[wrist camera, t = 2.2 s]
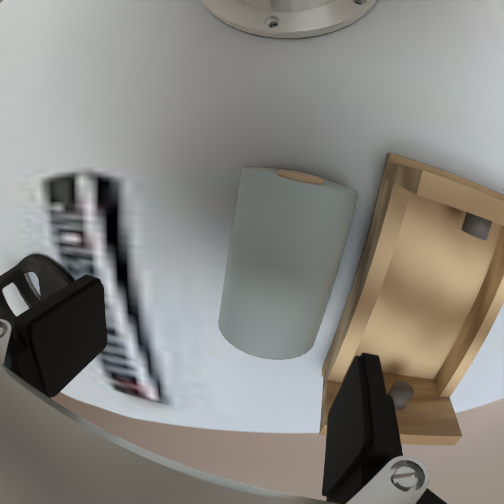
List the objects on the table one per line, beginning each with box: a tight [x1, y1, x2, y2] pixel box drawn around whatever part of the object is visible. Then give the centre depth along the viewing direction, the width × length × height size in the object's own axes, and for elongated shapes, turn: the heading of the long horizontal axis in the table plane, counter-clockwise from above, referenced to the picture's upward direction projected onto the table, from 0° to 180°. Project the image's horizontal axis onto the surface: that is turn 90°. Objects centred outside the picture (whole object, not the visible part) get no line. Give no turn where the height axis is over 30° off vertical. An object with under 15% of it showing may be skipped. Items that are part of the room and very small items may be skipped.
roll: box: [219, 167, 358, 360], centre depth 17 cm, size 10×6×6 cm, turn 170°
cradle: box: [320, 153, 504, 445], centre depth 15 cm, size 16×10×7 cm, turn 170°
